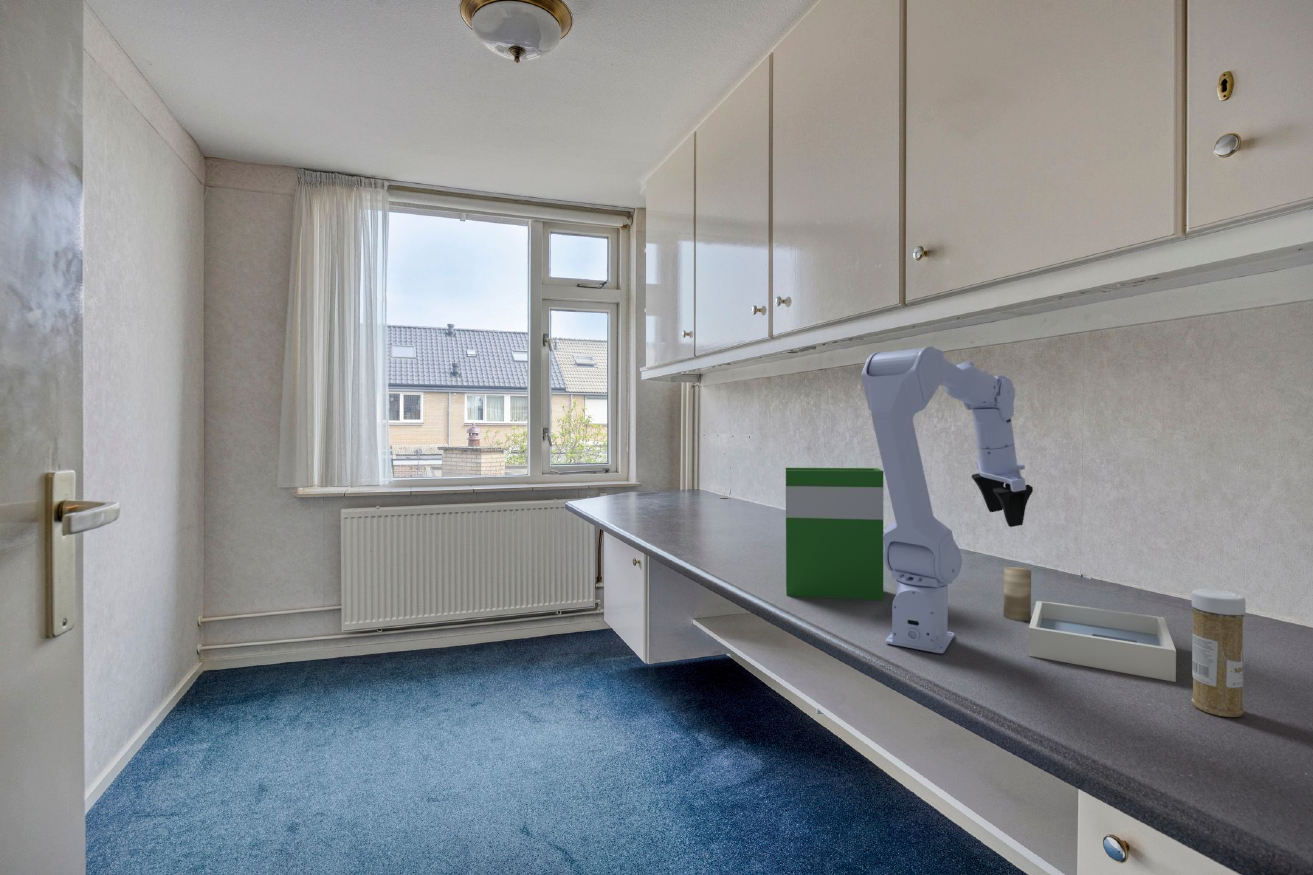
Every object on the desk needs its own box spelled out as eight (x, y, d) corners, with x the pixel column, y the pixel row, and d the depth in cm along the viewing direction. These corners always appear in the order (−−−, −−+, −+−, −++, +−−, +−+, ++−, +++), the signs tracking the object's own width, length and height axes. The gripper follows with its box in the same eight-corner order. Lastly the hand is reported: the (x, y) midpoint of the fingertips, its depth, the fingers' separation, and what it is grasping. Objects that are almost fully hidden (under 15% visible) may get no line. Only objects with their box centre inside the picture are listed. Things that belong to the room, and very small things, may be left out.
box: (1175, 681, 79) (1176, 650, 79) (1028, 655, 88) (1028, 627, 88) (1163, 644, 92) (1163, 617, 92) (1036, 624, 101) (1036, 600, 101)
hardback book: (786, 595, 119) (786, 470, 119) (786, 585, 127) (785, 467, 126) (883, 599, 116) (883, 471, 115) (877, 589, 123) (877, 468, 123)
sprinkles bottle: (1252, 721, 68) (1254, 600, 68) (1200, 714, 70) (1202, 596, 70) (1231, 703, 73) (1233, 589, 72) (1183, 697, 74) (1184, 585, 74)
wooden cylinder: (1029, 622, 102) (1030, 573, 102) (1002, 617, 105) (1002, 570, 105) (1031, 615, 106) (1032, 568, 106) (1004, 611, 108) (1005, 566, 108)
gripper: (1041, 449, 100) (1050, 527, 102) (1000, 431, 114) (1009, 500, 117) (995, 457, 101) (1006, 535, 103) (960, 439, 115) (970, 507, 117)
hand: (1005, 517), depth 110 cm, fingers open, 7 cm apart
